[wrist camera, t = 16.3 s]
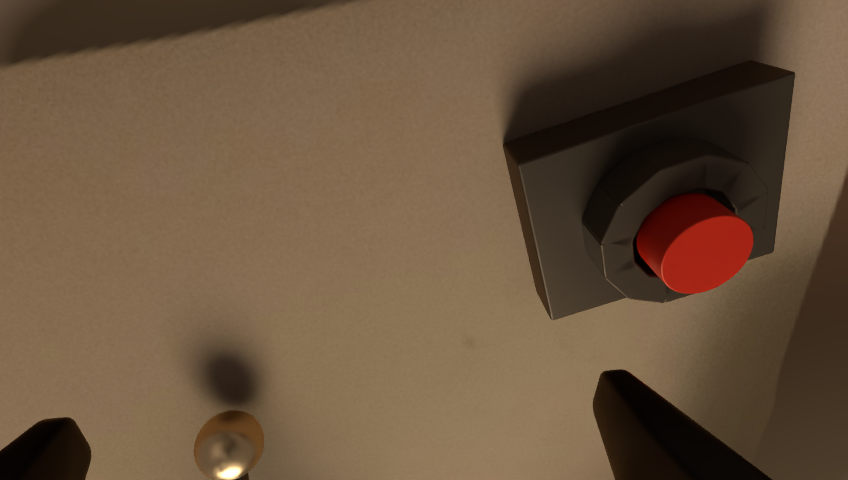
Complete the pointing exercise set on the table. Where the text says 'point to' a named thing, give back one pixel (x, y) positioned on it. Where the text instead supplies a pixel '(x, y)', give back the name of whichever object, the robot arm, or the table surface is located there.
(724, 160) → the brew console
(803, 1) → the table surface
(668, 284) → the stop button
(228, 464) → the power lever
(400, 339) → the table surface
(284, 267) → the table surface
